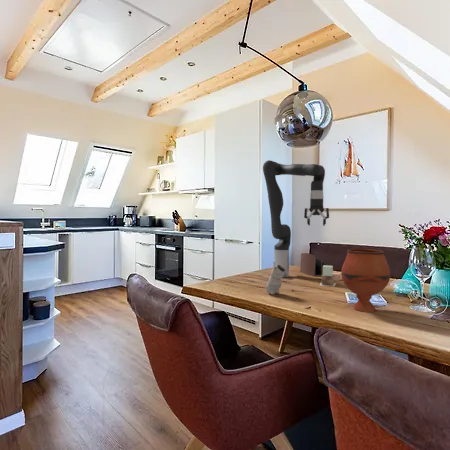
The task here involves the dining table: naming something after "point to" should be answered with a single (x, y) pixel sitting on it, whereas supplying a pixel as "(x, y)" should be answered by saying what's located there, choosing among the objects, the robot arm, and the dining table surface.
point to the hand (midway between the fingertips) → (316, 225)
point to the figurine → (275, 280)
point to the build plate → (327, 285)
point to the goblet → (365, 275)
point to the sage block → (327, 270)
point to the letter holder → (311, 265)
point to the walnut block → (327, 280)
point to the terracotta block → (337, 277)
